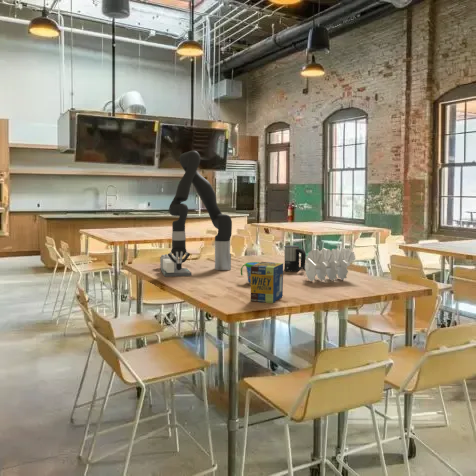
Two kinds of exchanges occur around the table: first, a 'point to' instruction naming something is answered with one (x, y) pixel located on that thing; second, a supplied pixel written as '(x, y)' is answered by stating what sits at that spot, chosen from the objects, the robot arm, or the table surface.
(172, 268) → the tab
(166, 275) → the switch bank
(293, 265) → the milk frother
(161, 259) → the paw print plaque
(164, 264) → the tab middle
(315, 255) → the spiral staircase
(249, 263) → the snack cup
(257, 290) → the protein box
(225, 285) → the table surface
